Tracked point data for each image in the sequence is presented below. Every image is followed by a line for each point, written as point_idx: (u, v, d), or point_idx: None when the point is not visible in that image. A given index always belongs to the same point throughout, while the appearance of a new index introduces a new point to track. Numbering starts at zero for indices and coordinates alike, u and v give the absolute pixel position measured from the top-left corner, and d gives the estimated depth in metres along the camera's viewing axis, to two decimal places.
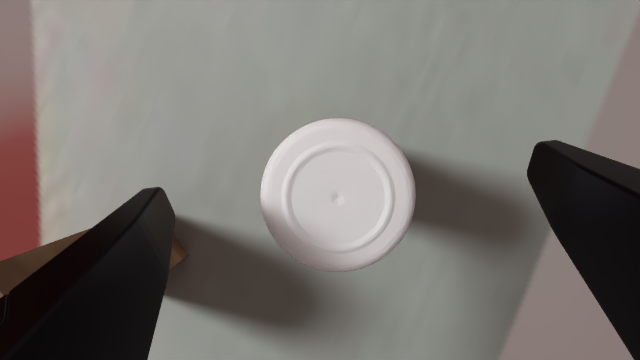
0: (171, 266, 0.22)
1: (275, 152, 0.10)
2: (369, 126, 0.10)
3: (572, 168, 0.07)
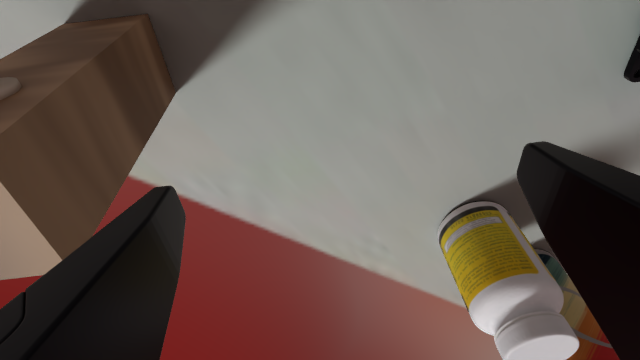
0: (126, 30, 0.15)
1: None
2: None
3: (559, 169, 0.07)
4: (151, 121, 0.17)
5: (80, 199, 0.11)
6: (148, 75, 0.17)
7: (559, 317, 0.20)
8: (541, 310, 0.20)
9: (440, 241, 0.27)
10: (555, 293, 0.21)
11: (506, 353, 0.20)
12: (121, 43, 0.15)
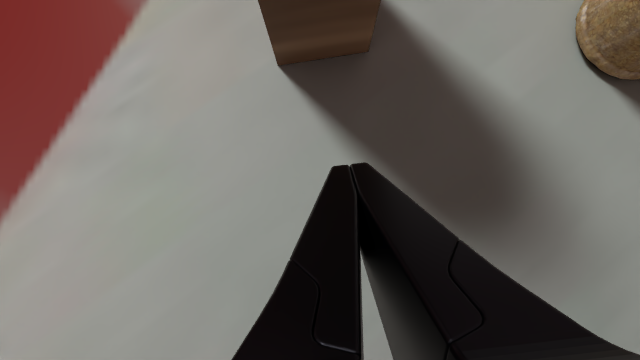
0: None
1: None
2: None
3: (357, 193, 0.08)
4: (273, 13, 0.12)
5: None
6: (320, 30, 0.14)
7: None
8: None
9: None
10: None
11: None
12: (373, 1, 0.12)
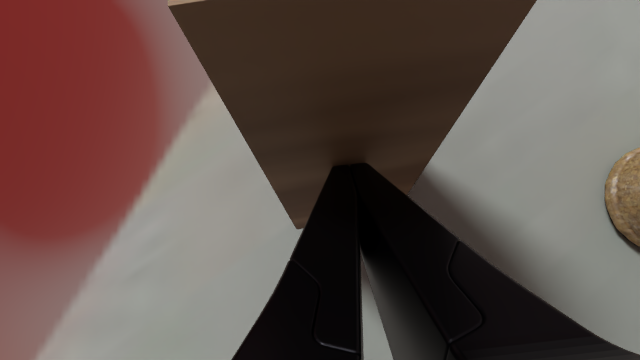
0: None
1: None
2: None
3: (357, 193, 0.07)
4: (295, 203, 0.11)
5: (301, 88, 0.05)
6: None
7: None
8: None
9: None
10: None
11: None
12: (403, 189, 0.11)
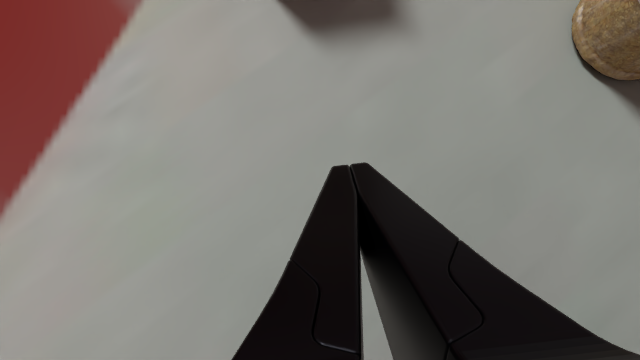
0: None
1: None
2: None
3: (357, 193, 0.08)
4: None
5: None
6: None
7: None
8: None
9: None
10: None
11: None
12: None
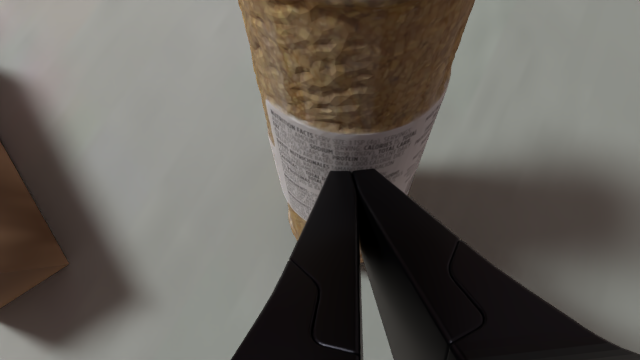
0: None
1: None
2: None
3: (357, 193, 0.08)
4: None
5: None
6: None
7: None
8: None
9: None
10: None
11: None
12: None
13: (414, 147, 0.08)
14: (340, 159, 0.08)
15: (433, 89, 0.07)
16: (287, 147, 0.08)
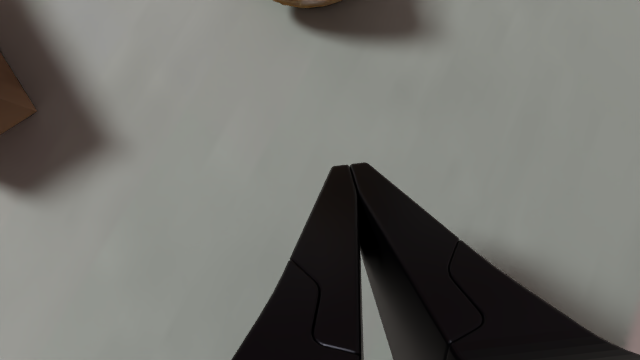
0: None
1: None
2: None
3: (357, 193, 0.08)
4: None
5: None
6: None
7: None
8: None
9: None
10: None
11: None
12: None
13: None
14: None
15: None
16: None
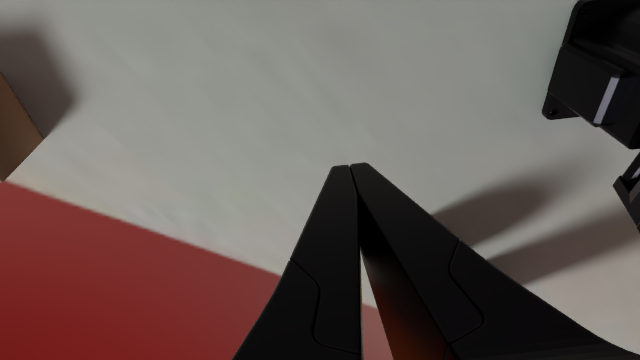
0: None
1: None
2: None
3: (357, 193, 0.08)
4: None
5: None
6: None
7: None
8: None
9: None
10: None
11: None
12: None
13: None
14: None
15: None
16: None
